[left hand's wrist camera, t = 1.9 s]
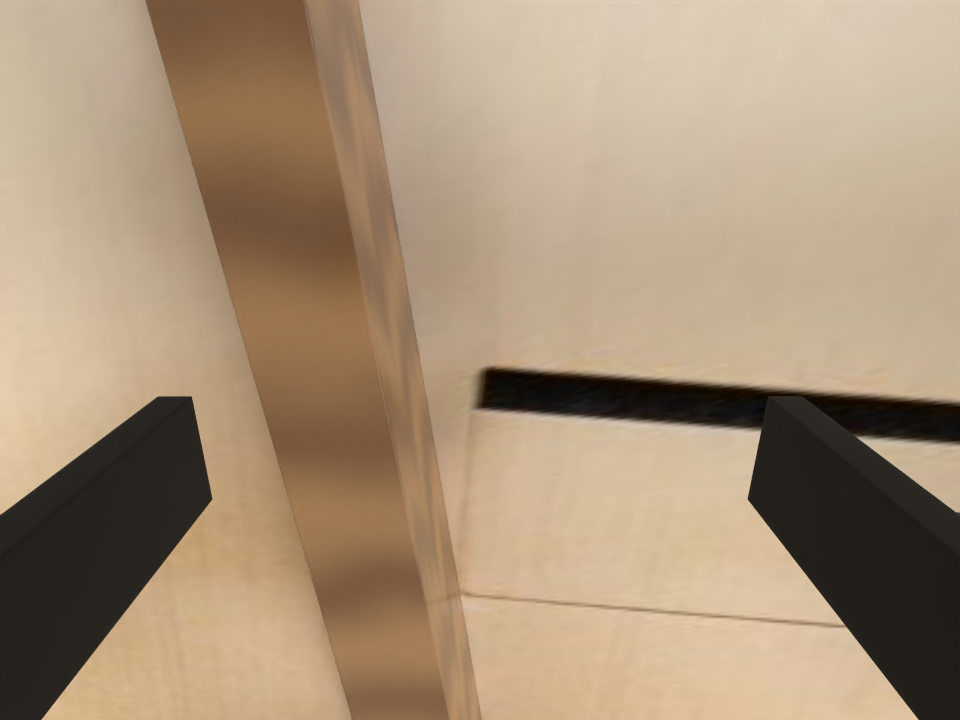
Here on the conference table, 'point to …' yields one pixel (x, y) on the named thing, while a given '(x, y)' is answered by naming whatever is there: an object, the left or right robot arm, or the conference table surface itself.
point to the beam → (327, 330)
